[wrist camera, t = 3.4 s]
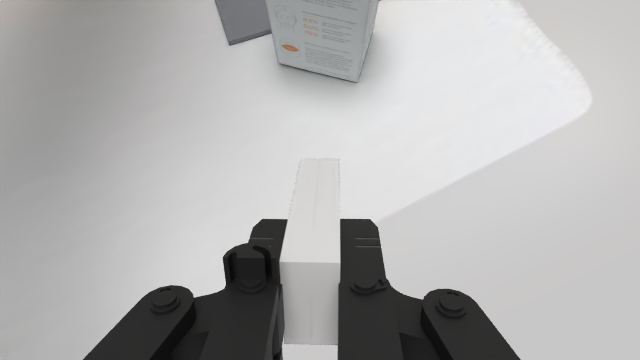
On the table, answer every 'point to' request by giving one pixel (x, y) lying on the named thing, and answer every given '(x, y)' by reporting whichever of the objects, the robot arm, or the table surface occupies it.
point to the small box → (323, 34)
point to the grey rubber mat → (244, 19)
